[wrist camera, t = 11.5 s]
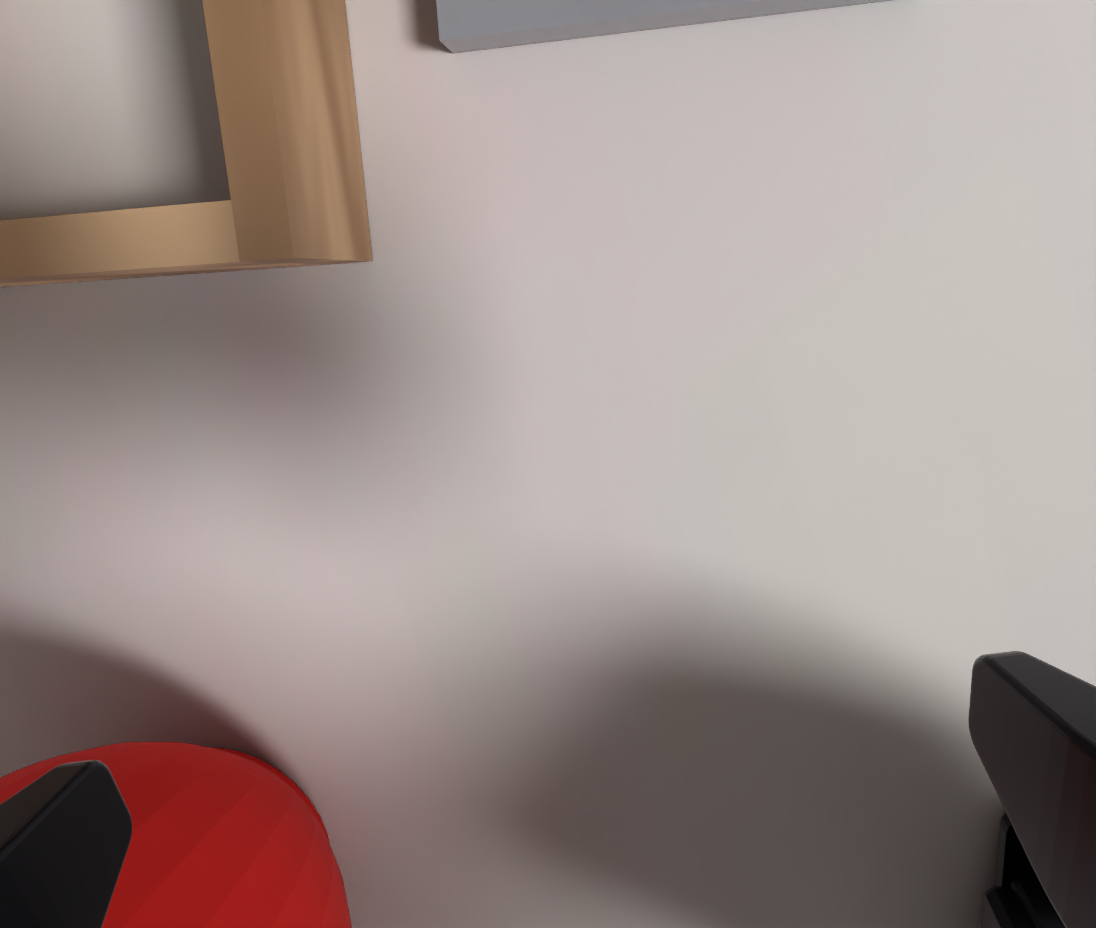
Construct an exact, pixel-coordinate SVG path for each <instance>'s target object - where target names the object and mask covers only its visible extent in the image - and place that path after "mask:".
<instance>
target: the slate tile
mask: <svg viewBox="0 0 1096 928" xmlns="http://www.w3.org/2000/svg"><path fill="white" fill-rule="evenodd" d="M881 1H889V0H436V7H437V19H438V31H439V41H440V42H441V43H442V44H443V45H444V46H446V47H447V48H448V49H449V50H450V51H451V52H452V53H459V52H467V51H476V50H484V49H492V48H501V47H509V46H517V45H525V44H534V43H542V42H550V41H558V40H567V39H575V38H583V37H591V36H600V35H608V34H616V33H625V32H633V31H641V30H649V29H658V28H666V27H674V26H682V25H691V24H699V23H707V22H715V21H724V20H732V19H740V18H749V17H757V16H765V15H773V14H782V13H790V12H798V11H806V10H815V9H823V8H831V7H839V6H848V5H856V4H864V3H873V2H881Z"/></svg>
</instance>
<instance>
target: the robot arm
mask: <svg viewBox="0 0 1096 928" xmlns="http://www.w3.org/2000/svg"><path fill="white" fill-rule="evenodd" d="M969 730H970V734H971V738H972V741H973V744H974V746H975V749H976V751H977V753H978V755H979V757H980V759H981V761H982V763H983V765H984V767H985V769H986V771H987V773H988V776H989V778H990V780H991V782H992V784H993V786H994V788H995V790H996V792H997V794H998V796H999V798H1000V801H1001V803H1002V805H1003V807H1004V809H1005V811H1006V814H1005V815H1004V816H1003V817H1002V819H1001V822H1000V829H999V841H998V854H997V866H996V878H995V886H990V887H989V889H988V890H987V891H986V892H985V893H984V898H983V911H982V924H981V928H1096V686H1094V685H1092V684H1089V683H1087V682H1085V681H1083V680H1081V679H1079V678H1077V677H1075V676H1073V675H1071V674H1069V673H1066V672H1064V671H1062V670H1060V669H1058V668H1056V667H1054V666H1052V665H1050V664H1048V663H1045V662H1043V661H1041V660H1039V659H1037V658H1035V657H1033V656H1031V655H1029V654H1026V653H1024V652H1019V651H1011V652H1003V653H995V654H986V655H982V656H980V657H978V658H977V659H976V660H975V663H974V665H973V670H972V682H971V694H970V707H969ZM131 837H132V819H131V815H130V812H129V810H128V808H127V806H126V803H125V801H124V799H123V797H122V795H121V793H120V791H119V789H118V787H117V784H116V782H115V780H114V778H113V776H112V774H111V772H110V770H109V768H108V767H107V765H105V764H104V763H103V762H101V761H98V760H87V761H79V762H70V763H65V764H61V765H58V766H56V767H54V768H53V769H51V770H50V771H48V772H47V773H45V774H44V775H42V776H41V777H40V778H38V779H37V780H35V781H34V782H32V783H31V784H29V785H28V786H26V787H25V788H23V789H22V790H20V791H19V792H17V793H16V794H15V795H13V796H12V797H10V798H9V799H7V800H6V801H4V802H3V803H1V804H0V928H102V926H103V923H104V920H105V917H106V914H107V911H108V908H109V905H110V902H111V899H112V896H113V893H114V890H115V887H116V884H117V881H118V878H119V875H120V872H121V869H122V866H123V863H124V860H125V857H126V854H127V851H128V848H129V845H130V841H131Z"/></svg>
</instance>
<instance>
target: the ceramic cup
mask: <svg viewBox="0 0 1096 928" xmlns="http://www.w3.org/2000/svg"><path fill="white" fill-rule="evenodd" d="M87 760H98V761H101V762H103V763H104V764H105V765H107V767H108V768H109V770H110V772H111V774H112V776H113V778H114V780H115V782H116V784H117V787H118V789H119V791H120V793H121V795H122V797H123V799H124V801H125V803H126V806H127V808H128V810H129V812H130V815H131V819H132V837H131V841H130V845H129V848H128V851H127V854H126V857H125V860H124V863H123V866H122V869H121V872H120V875H119V878H118V881H117V884H116V887H115V890H114V893H113V896H112V899H111V902H110V905H109V908H108V911H107V914H106V917H105V920H104V923H103V926H102V928H352V926H351V920H350V914H349V909H348V904H347V899H346V894H345V889H344V883H343V879H342V876H341V872H340V869H339V867H338V864H337V862H336V859H335V857H334V854H333V852H332V849H331V847H330V844H329V839H328V835H327V832H326V830H325V827H324V825H323V822H322V820H321V817H320V816H319V814H318V813H317V811H316V809H315V808H314V806H313V805H312V803H311V801H310V800H309V799H308V798H307V796H306V795H305V794H304V793H303V792H302V791H301V790H300V789H299V787H298V786H297V785H296V784H295V783H294V782H293V781H291V780H290V779H289V778H288V777H286V776H285V775H284V774H283V773H282V772H280V771H279V770H278V769H276V768H274V767H273V766H271V765H269V764H268V763H266V762H264V761H263V760H261V759H258V758H256V757H253V756H251V755H248V754H245V753H243V752H239V751H234V750H229V749H224V748H208V747H203V746H198V745H193V744H188V743H178V742H127V743H119V744H111V745H107V746H102V747H97V748H92V749H87V750H83V751H78V752H73V753H69V754H64V755H60V756H57V757H54V758H50V759H47V760H44V761H40V762H38V763H35V764H32V765H30V766H27V767H24V768H22V769H19V770H17V771H14V772H12V773H10V774H8V775H5V776H3V777H1V778H0V804H1V803H3V802H4V801H6V800H7V799H9V798H10V797H12V796H13V795H15V794H16V793H17V792H19V791H20V790H22V789H23V788H25V787H26V786H28V785H29V784H31V783H32V782H34V781H35V780H37V779H38V778H40V777H41V776H42V775H44V774H45V773H47V772H48V771H50V770H51V769H53V768H54V767H56V766H58V765H61V764H65V763H70V762H79V761H87Z"/></svg>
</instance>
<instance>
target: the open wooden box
mask: <svg viewBox="0 0 1096 928" xmlns="http://www.w3.org/2000/svg"><path fill="white" fill-rule="evenodd" d="M202 3H203V9H204V16H205V23H206V30H207V37H208V44H209V51H210V58H211V65H212V72H213V79H214V86H215V93H216V100H217V107H218V114H219V121H220V128H221V135H222V142H223V149H224V156H225V163H226V170H227V177H228V184H229V191H230V198H231V200H225V201H213V202H202V203H191V204H180V205H168V206H157V207H146V208H134V209H123V210H112V211H101V212H89V213H78V214H67V215H56V216H44V217H33V218H22V219H10V220H0V287H9V286H23V285H37V284H52V283H66V282H81V281H95V280H109V279H124V278H138V277H153V276H167V275H181V274H196V273H210V272H225V271H239V270H253V269H268V268H282V267H297V266H311V265H325V264H340V263H354V262H369V261H373V260H372V250H371V241H370V232H369V222H368V213H367V203H366V194H365V184H364V175H363V166H362V156H361V147H360V137H359V128H358V119H357V109H356V100H355V90H354V81H353V71H352V62H351V53H350V43H349V34H348V24H347V15H346V6H345V0H202Z"/></svg>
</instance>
